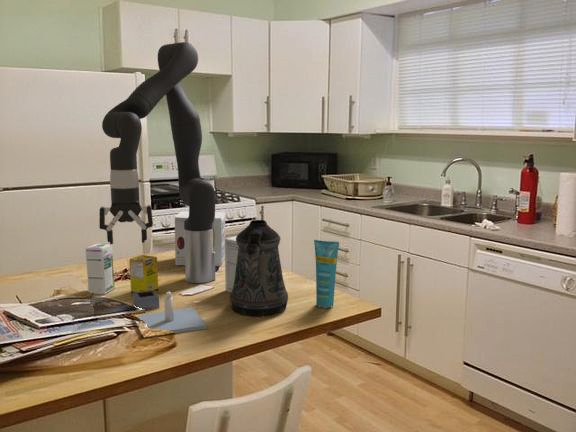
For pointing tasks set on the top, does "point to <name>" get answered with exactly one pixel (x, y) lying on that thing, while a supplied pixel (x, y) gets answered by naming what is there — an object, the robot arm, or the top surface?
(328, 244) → the tube
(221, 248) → the supplement box
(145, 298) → the tissue dispenser
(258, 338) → the top surface
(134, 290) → the supplement box
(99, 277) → the syrup box
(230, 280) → the supplement box
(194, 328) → the keeper plate
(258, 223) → the dark ornate coffee pot
